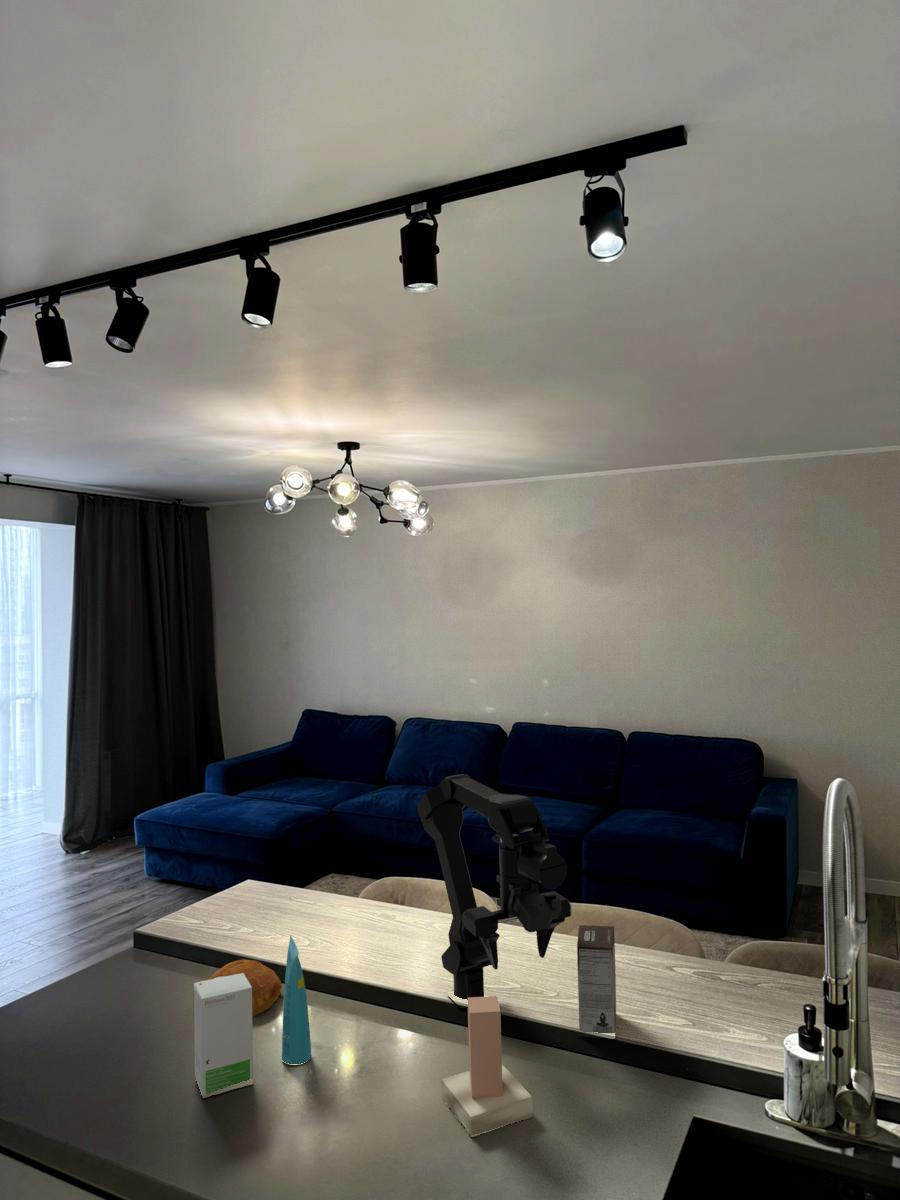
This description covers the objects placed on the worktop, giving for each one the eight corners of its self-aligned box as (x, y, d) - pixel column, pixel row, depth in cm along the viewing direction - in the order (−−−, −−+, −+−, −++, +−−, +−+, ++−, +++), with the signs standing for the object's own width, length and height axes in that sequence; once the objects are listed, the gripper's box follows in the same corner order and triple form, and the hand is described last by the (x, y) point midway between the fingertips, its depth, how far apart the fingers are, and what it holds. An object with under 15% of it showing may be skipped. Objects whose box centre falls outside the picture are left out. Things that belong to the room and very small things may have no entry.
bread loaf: (187, 1026, 150) (181, 986, 149) (238, 977, 164) (233, 940, 163) (251, 1039, 144) (245, 997, 143) (299, 987, 159) (293, 949, 158)
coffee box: (580, 1011, 147) (578, 923, 147) (616, 1013, 146) (614, 925, 146) (578, 1038, 138) (576, 945, 138) (616, 1041, 137) (614, 947, 137)
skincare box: (201, 1101, 124) (198, 1000, 124) (193, 1078, 130) (190, 982, 129) (256, 1084, 128) (253, 986, 127) (246, 1063, 133) (243, 969, 133)
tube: (317, 1065, 132) (313, 949, 132) (287, 1074, 130) (284, 955, 130) (304, 1043, 139) (301, 932, 139) (276, 1051, 137) (273, 938, 137)
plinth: (442, 1098, 123) (441, 1079, 123) (499, 1080, 127) (499, 1061, 127) (471, 1138, 114) (470, 1117, 114) (532, 1116, 118) (532, 1096, 118)
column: (469, 1079, 122) (467, 997, 122) (499, 1077, 123) (497, 996, 123) (472, 1098, 118) (469, 1012, 118) (502, 1096, 118) (500, 1011, 118)
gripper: (490, 897, 127) (492, 996, 128) (588, 877, 135) (591, 969, 135) (459, 876, 138) (462, 967, 138) (552, 858, 145) (555, 944, 146)
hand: (518, 962), depth 139 cm, fingers open, 9 cm apart
